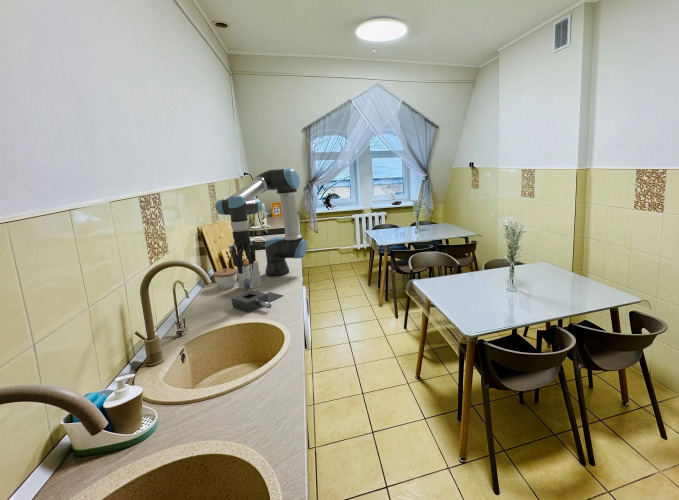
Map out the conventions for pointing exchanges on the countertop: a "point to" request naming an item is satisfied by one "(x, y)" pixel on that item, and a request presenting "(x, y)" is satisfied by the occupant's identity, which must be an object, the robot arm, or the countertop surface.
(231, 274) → the lidded bowl
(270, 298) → the mat
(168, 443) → the countertop surface
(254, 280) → the supplement box
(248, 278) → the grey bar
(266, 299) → the block
